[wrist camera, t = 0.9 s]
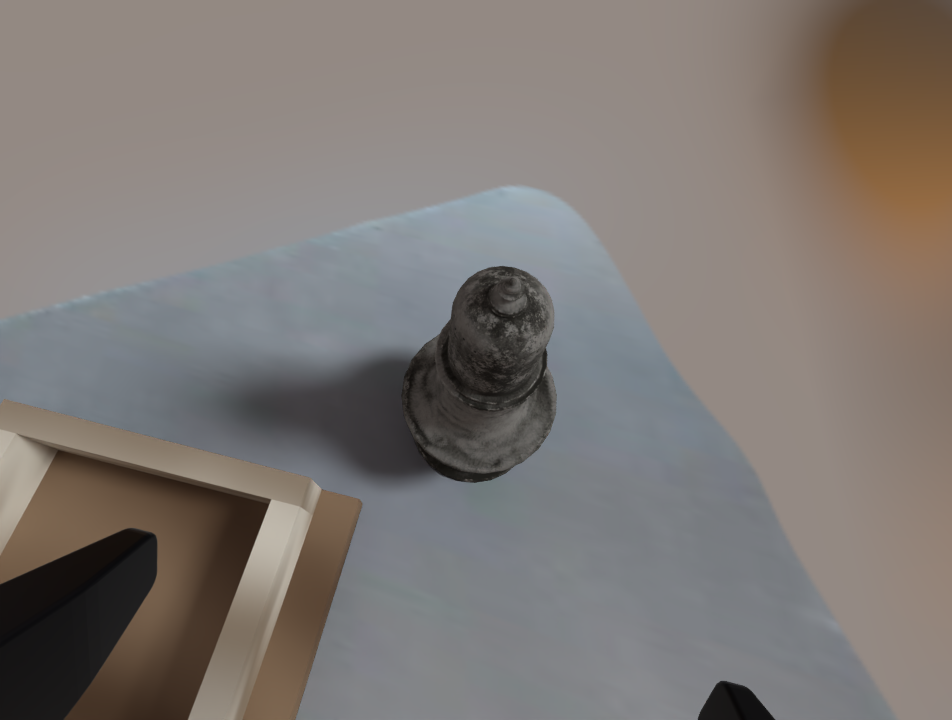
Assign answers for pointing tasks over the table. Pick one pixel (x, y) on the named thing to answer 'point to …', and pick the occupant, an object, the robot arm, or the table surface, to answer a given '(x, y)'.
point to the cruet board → (181, 563)
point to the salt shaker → (484, 379)
